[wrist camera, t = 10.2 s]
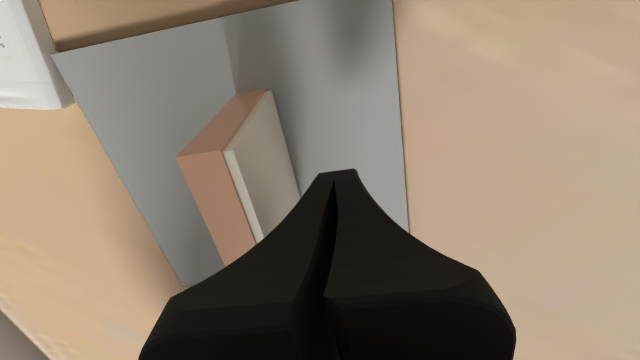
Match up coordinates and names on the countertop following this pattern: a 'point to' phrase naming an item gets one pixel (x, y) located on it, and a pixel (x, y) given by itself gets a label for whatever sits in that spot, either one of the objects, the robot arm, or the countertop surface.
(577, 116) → the countertop surface
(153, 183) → the mat
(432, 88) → the countertop surface
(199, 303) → the robot arm
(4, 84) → the external hard drive
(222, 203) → the tile
